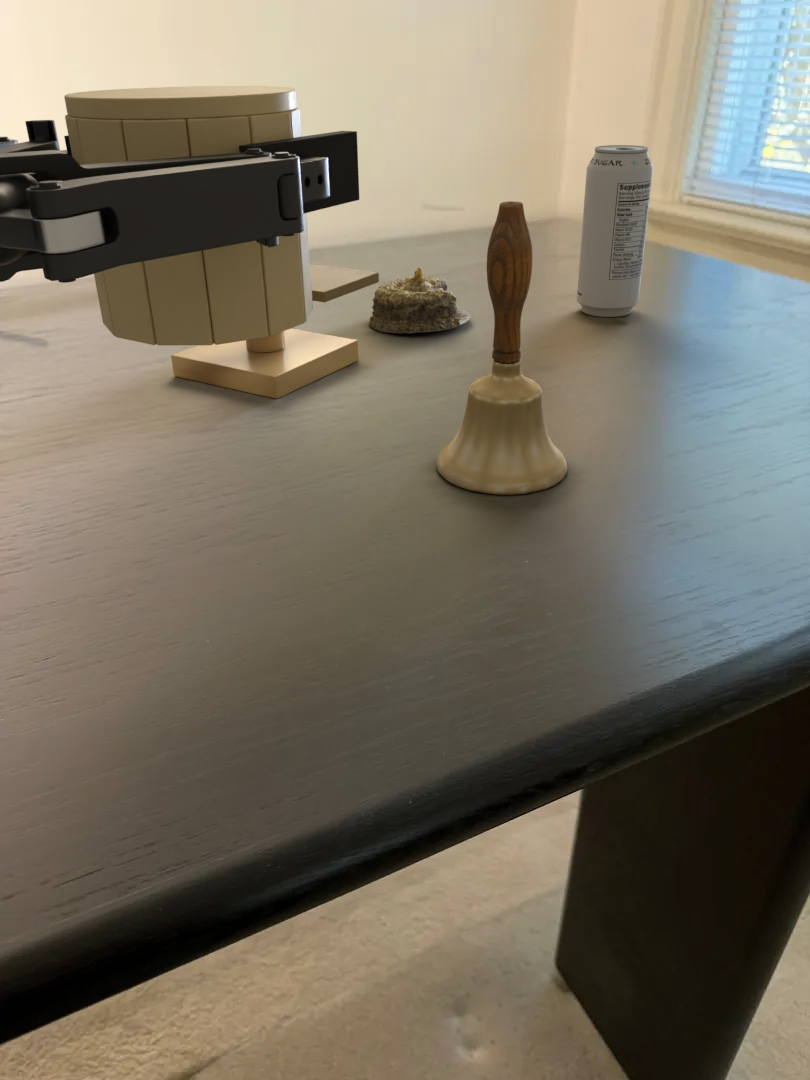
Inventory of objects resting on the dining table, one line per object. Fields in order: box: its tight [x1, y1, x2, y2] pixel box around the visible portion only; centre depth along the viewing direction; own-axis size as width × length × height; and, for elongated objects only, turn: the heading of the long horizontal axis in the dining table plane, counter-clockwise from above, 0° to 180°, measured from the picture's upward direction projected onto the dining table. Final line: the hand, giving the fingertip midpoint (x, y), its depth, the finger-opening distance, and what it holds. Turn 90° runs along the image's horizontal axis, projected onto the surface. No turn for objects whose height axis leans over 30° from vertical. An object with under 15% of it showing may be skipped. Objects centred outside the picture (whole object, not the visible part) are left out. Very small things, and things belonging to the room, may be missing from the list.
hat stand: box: [170, 328, 359, 400], centre depth 70 cm, size 11×11×20 cm
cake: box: [368, 267, 472, 334], centre depth 85 cm, size 10×10×5 cm
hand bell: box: [436, 200, 568, 496], centre depth 53 cm, size 8×8×16 cm
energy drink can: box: [576, 144, 654, 318], centre depth 85 cm, size 6×6×15 cm
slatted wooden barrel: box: [63, 85, 380, 346], centre depth 39 cm, size 9×13×9 cm
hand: (263, 160), depth 40 cm, fingers closed on slatted wooden barrel, 9 cm apart
